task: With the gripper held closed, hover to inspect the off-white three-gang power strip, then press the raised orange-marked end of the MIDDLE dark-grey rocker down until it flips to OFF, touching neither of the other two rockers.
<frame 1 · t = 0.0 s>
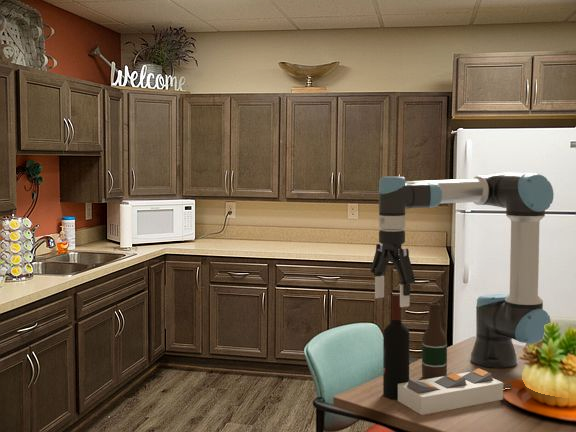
hand: (391, 302, 197), 28 cm above the table, fingers open, 13 cm apart
rocker 1: (477, 378, 198), point 5 cm above the table, hinge at 18.0°
rocker 3: (423, 387, 191), point 5 cm above the table, hinge at -18.0°
beer bottle: (434, 377, 215), on the table
rocker 2: (450, 382, 194), point 5 cm above the table, hinge at 18.0°
wine bottle: (396, 396, 199), on the table
power strip: (450, 400, 195), on the table
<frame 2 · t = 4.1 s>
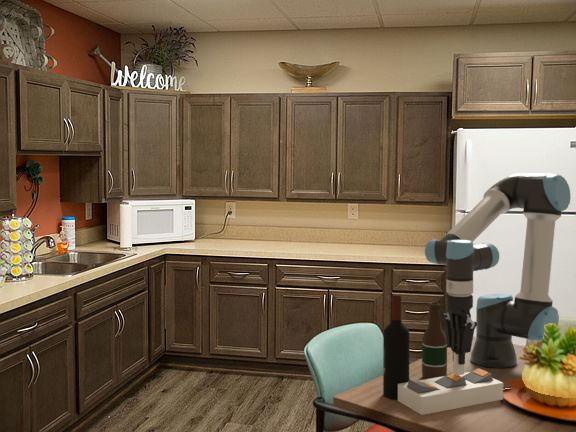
hand: (458, 374, 195), 7 cm above the table, fingers closed
rocker 2: (450, 382, 194), point 5 cm above the table, hinge at 17.8°, touching gripper
everything else where it was.
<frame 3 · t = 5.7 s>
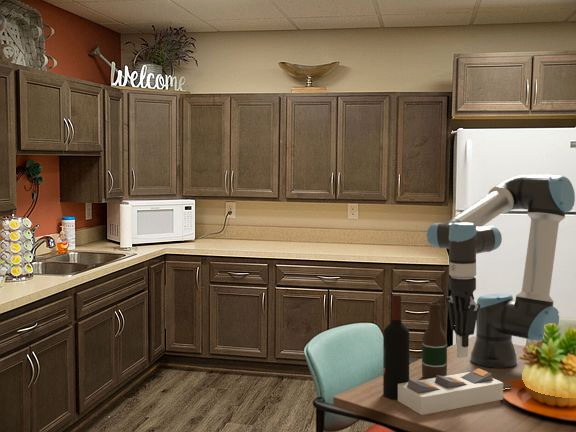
hand: (462, 356, 196), 12 cm above the table, fingers closed
rocker 2: (450, 382, 194), point 5 cm above the table, hinge at -15.6°
everything else where it was.
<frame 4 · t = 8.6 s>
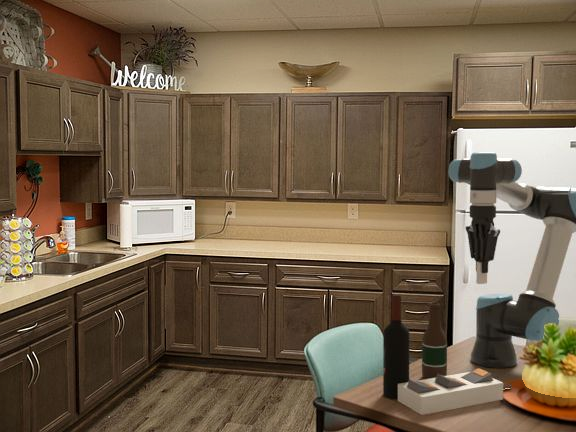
hand: (481, 283, 201), 32 cm above the table, fingers closed
rocker 2: (450, 382, 194), point 5 cm above the table, hinge at -23.6°
everything else where it was.
at the end: rocker 2 at -24° (first picture: +18°); rocker 1 at +18° (first picture: +18°); rocker 3 at -18° (first picture: -18°) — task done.
